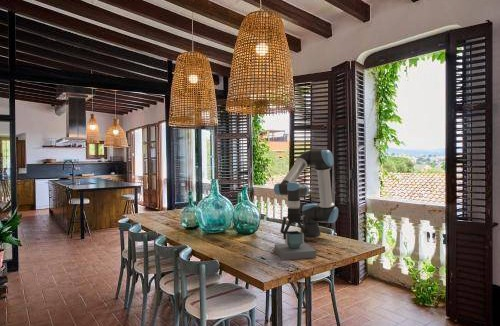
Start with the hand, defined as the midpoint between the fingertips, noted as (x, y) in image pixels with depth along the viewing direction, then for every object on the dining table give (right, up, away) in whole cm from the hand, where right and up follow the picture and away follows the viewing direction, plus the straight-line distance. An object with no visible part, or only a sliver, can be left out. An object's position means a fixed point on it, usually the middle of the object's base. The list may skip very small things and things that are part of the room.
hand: (294, 244), depth 206 cm
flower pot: (-1, -2, 0) cm, 2 cm away
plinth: (0, -6, 0) cm, 6 cm away
